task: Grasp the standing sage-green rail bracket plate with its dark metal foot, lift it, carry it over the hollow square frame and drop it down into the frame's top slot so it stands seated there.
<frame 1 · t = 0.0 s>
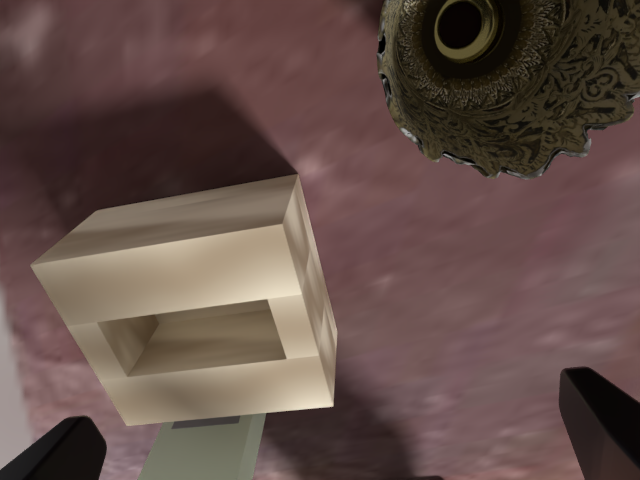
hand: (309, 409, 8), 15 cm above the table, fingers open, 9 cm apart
hollow square frame: (223, 274, 25), on the table
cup: (458, 25, 18), on the table
rail bracket: (220, 403, 30), on the table
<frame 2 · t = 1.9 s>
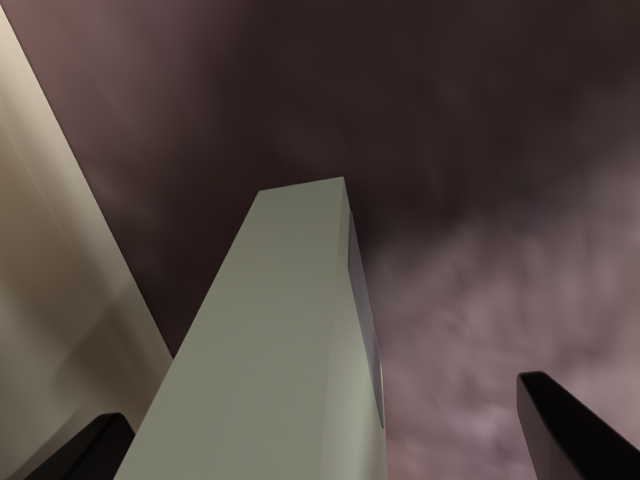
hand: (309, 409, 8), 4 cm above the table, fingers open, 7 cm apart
rail bracket: (326, 289, 12), on the table
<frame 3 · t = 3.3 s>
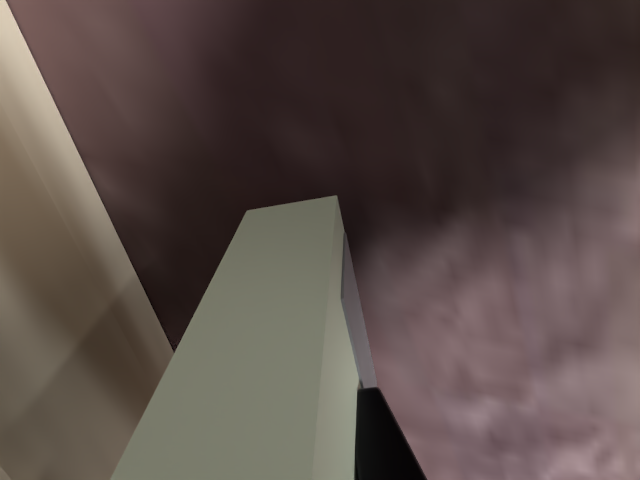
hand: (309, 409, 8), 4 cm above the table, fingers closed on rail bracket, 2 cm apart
rail bracket: (320, 313, 11), point 1 cm above the table, touching gripper
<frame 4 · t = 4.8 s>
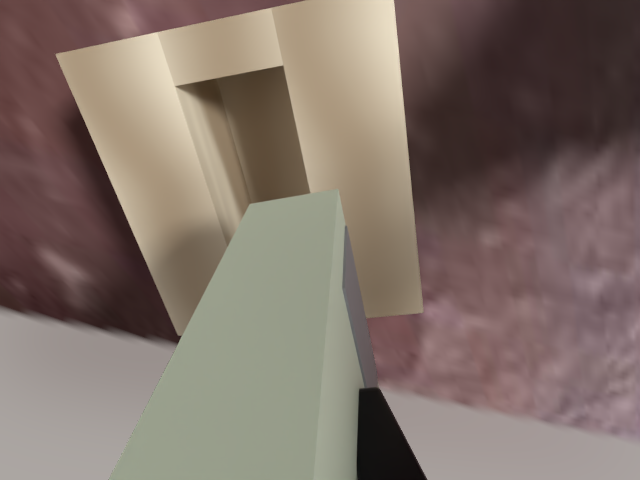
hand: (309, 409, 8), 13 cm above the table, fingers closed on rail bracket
hollow square frame: (285, 148, 20), on the table
rail bracket: (321, 306, 11), point 10 cm above the table, touching gripper
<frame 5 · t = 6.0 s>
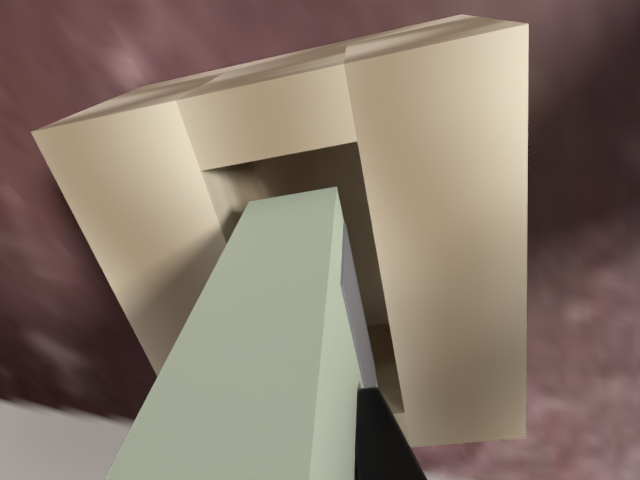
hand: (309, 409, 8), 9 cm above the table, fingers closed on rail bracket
hollow square frame: (327, 214, 16), on the table
rail bracket: (320, 303, 11), point 5 cm above the table, touching gripper
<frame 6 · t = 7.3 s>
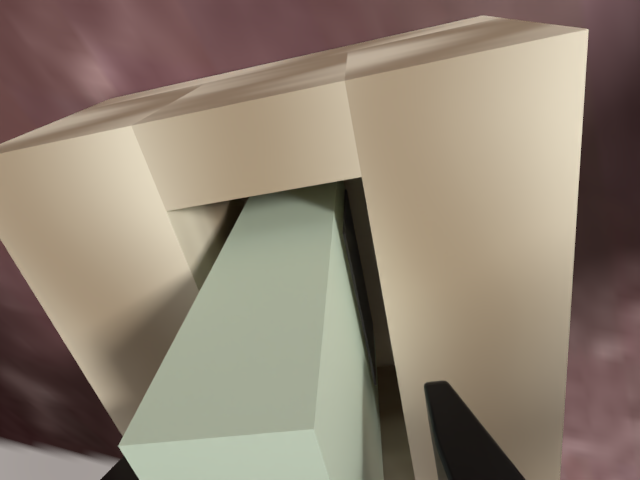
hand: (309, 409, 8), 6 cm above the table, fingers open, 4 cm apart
hollow square frame: (326, 242, 14), on the table
rail bracket: (324, 263, 13), point 1 cm above the table, touching hollow square frame
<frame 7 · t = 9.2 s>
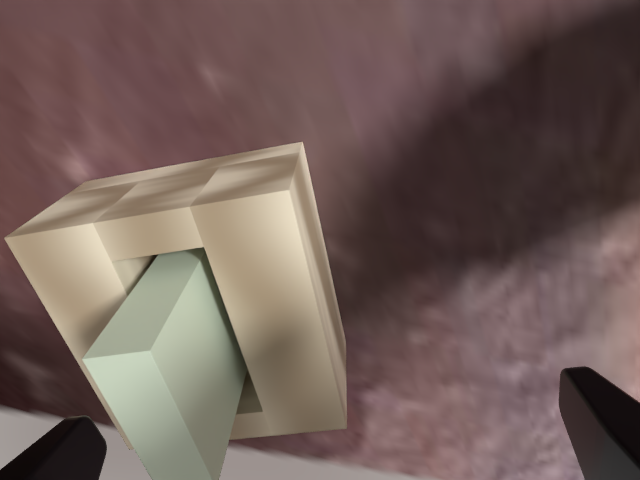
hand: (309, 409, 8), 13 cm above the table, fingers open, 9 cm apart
hollow square frame: (227, 268, 22), on the table
rail bracket: (219, 282, 20), point 1 cm above the table, touching hollow square frame
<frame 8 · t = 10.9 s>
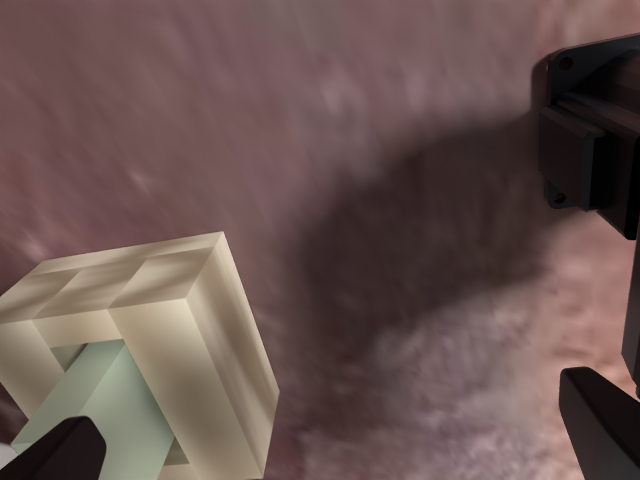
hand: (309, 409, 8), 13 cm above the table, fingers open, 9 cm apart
hollow square frame: (169, 330, 25), on the table
rail bracket: (159, 347, 23), point 1 cm above the table, touching hollow square frame
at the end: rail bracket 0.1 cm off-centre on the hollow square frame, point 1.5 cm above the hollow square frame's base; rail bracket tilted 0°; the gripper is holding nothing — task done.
